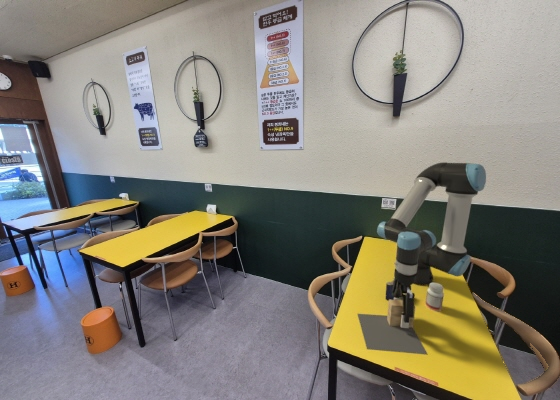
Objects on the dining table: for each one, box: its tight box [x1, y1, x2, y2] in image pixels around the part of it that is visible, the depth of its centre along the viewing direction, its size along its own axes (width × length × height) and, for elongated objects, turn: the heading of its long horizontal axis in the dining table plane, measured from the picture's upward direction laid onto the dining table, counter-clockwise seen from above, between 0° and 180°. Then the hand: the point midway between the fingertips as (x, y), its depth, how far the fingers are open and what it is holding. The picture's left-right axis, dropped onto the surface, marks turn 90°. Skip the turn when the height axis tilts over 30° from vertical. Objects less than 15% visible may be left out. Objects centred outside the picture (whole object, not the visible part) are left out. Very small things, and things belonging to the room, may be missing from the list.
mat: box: [357, 313, 428, 355], centre depth 89 cm, size 21×18×1 cm
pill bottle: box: [425, 282, 445, 312], centre depth 101 cm, size 6×6×11 cm
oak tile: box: [386, 299, 416, 328], centre depth 92 cm, size 9×4×10 cm, turn 82°
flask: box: [385, 277, 395, 302], centre depth 108 cm, size 9×3×11 cm, turn 114°
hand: (400, 318), depth 93 cm, fingers open, 8 cm apart
